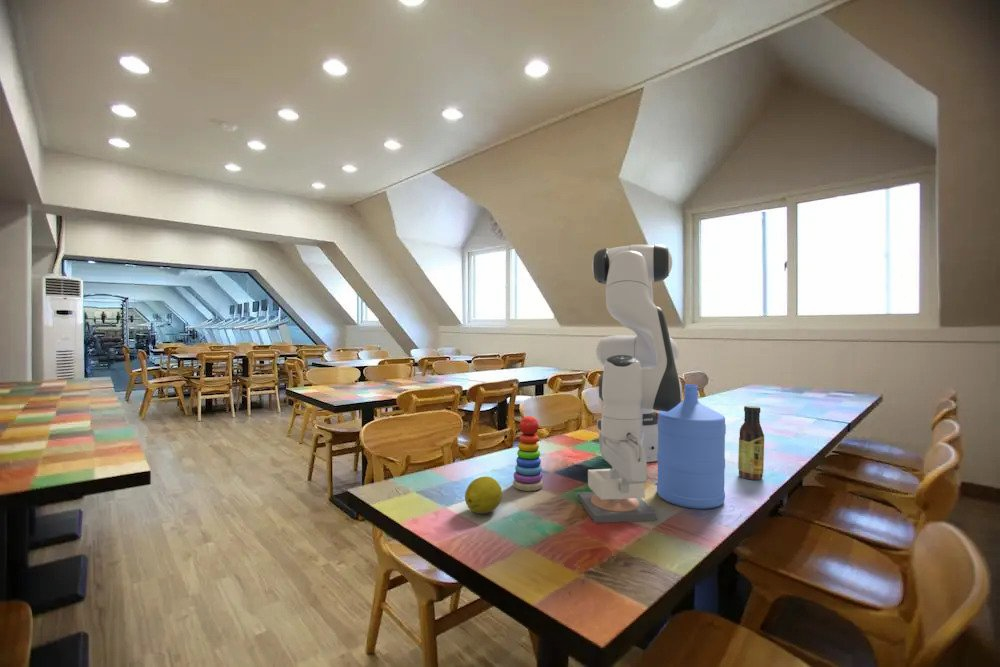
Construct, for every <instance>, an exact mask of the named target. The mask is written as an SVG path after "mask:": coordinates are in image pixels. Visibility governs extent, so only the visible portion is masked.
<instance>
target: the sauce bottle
mask: <svg viewBox="0 0 1000 667" xmlns="http://www.w3.org/2000/svg"><path fill="white" fill-rule="evenodd" d="M743 411H744V419H743V420H744V422H743V424H742V425H741V427H740V428H739V437H738V455H737V456H738V462H737V465H738V466H737V469H738V475H739V477H741V478H743V479H746V480H753V481H755V480H757V481H759V480H762V479H763V476H764V466H765V464H764V462H765V461H764V460H765V458H764V457H765V434H764V432H763V429H762V427H761V423H760V422H761V420H760V413H761V407H760V406H756V405H744V406H743Z"/></svg>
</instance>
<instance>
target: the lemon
mask: <svg viewBox="0 0 1000 667" xmlns="http://www.w3.org/2000/svg"><path fill="white" fill-rule="evenodd" d="M502 493H503V492H502V487H501V484H500V483H499V482H498V481H497V480H496V479H495V478H493V477H492V476H491V477H490V476H480V477H478V478H475V479H474V480H473V481H471V482H470V483H469V484H468V486H467V489H466V490H465V493H464V500H465V503H466V506H467V508H468V509H469V510H470V511H472V512H474V513H475V514H480V515H481V514H483V515H485V514H488V513H489V514H490V513H491V512H493V511H494V510H496V508H497V507H498V506H499V505H500V503H501V501H502V496H503V495H502Z"/></svg>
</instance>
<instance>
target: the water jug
mask: <svg viewBox="0 0 1000 667" xmlns="http://www.w3.org/2000/svg"><path fill="white" fill-rule="evenodd" d="M683 386H684V392H683V394H684V399H683V401H681V402H680V403H679V404H678V405H677V406H676V407H674V408H673V409H671V410H670V411H668V412H666V411H659V412H657V413H658V423H657V427H658V451H657V461H656V462H657V483H656V493H657V495H658V496H659V497H660V498H661V499H663V500H664V501H665V502H668V503H670V504H673V505H675V506H678V507H683V508H688V509H695V510H704V509H705V510H707V509H715V508H717V507H721V505H722V504H724V502H725V499H726V492H725V469H726V458H725V457H726V455H725V453H726V451H725V450H726V448H725V447H726V433H727V432H726V428H727V426H726V425H727V424H726V417H725V415H724V414H722V413H720V412H718V411H716V410H714V409H711V408H710V407H709V406H706V405H704V404H702V403H700V402H699V400H698V399H699V391H698V388H699V385H697V384H696V385H695V384H684V385H683Z"/></svg>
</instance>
